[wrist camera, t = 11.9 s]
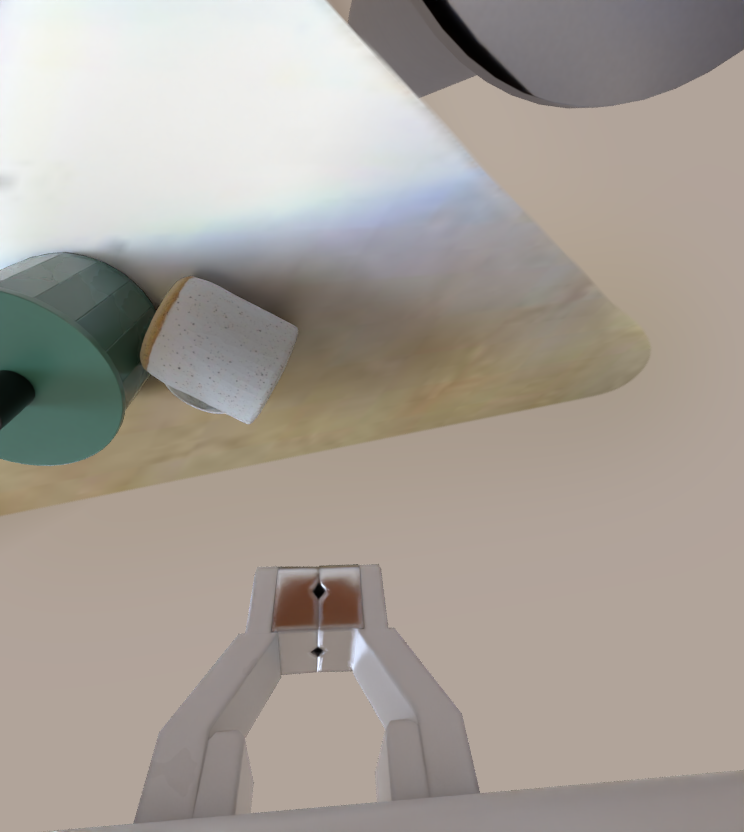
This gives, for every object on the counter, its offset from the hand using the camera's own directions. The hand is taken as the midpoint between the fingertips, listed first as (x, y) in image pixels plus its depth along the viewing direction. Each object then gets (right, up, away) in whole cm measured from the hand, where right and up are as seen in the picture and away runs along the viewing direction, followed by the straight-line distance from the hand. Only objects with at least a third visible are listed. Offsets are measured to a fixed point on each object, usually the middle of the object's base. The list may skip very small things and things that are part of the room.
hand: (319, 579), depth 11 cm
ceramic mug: (-10, +10, +22) cm, 26 cm away
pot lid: (-18, +6, +13) cm, 23 cm away
